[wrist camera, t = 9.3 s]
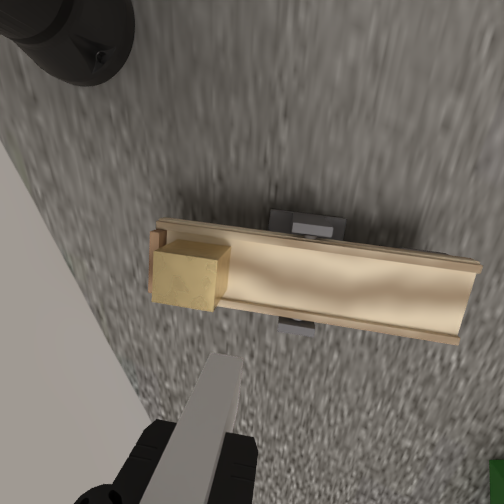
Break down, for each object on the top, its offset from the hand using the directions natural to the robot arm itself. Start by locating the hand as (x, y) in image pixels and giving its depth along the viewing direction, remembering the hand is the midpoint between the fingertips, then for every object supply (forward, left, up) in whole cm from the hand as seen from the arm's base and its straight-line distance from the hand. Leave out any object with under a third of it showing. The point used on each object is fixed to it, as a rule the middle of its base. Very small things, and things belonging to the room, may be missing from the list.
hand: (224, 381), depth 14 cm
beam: (+1, +4, -25) cm, 25 cm away
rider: (+1, -7, -20) cm, 21 cm away
